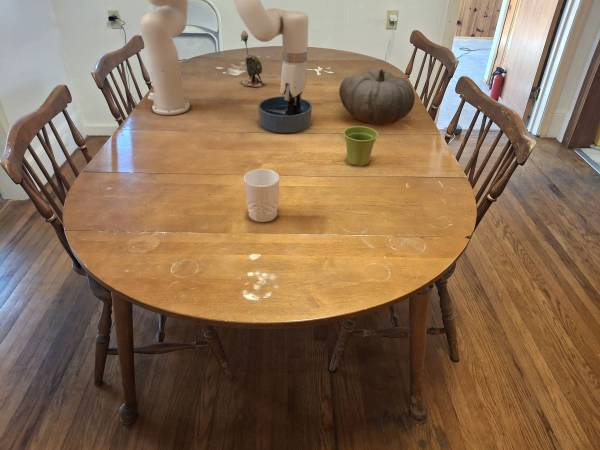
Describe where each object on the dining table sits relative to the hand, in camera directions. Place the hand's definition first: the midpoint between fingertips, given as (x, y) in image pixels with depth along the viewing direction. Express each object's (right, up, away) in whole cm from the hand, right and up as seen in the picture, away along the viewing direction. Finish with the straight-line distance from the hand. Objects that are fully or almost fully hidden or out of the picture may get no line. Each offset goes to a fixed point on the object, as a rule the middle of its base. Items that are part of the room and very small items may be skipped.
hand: (294, 114), depth 150 cm
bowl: (-3, -3, +2) cm, 4 cm away
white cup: (-7, -34, -41) cm, 54 cm away
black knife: (-3, +1, +1) cm, 3 cm away
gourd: (+27, +1, +7) cm, 28 cm away
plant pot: (+18, -18, -19) cm, 32 cm away
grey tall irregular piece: (-16, +19, +31) cm, 40 cm away
